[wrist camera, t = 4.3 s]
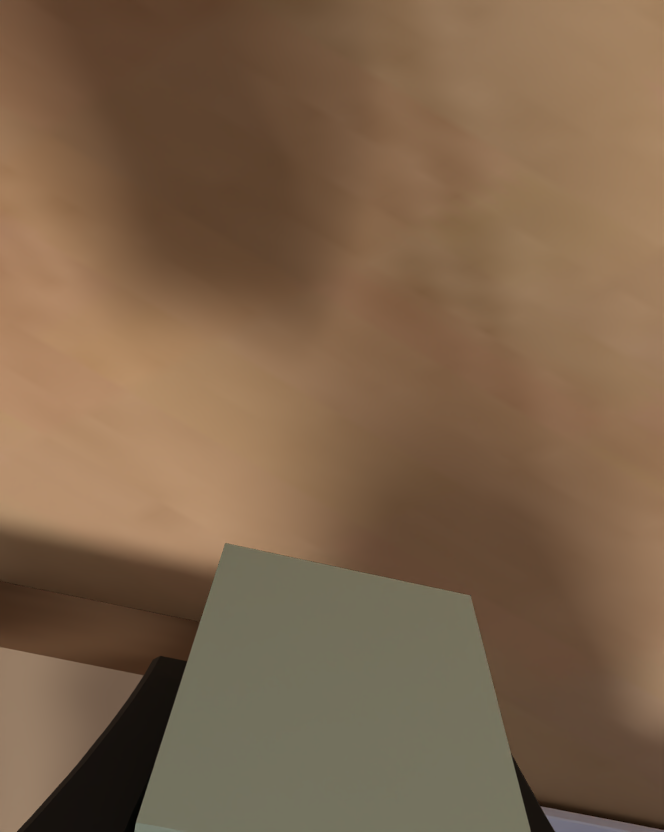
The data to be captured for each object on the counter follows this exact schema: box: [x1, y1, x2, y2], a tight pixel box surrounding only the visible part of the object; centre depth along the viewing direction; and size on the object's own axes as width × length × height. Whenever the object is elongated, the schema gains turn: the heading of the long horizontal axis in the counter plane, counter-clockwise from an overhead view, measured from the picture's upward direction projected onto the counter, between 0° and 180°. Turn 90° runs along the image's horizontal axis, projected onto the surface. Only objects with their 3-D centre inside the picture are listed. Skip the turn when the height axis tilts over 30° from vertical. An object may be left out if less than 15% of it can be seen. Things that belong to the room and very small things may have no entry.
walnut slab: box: [0, 581, 200, 832], centre depth 22 cm, size 12×12×3 cm
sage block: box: [134, 543, 531, 832], centre depth 10 cm, size 4×4×5 cm
